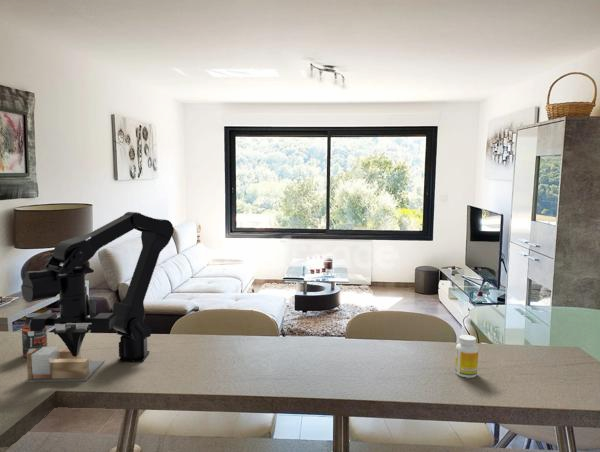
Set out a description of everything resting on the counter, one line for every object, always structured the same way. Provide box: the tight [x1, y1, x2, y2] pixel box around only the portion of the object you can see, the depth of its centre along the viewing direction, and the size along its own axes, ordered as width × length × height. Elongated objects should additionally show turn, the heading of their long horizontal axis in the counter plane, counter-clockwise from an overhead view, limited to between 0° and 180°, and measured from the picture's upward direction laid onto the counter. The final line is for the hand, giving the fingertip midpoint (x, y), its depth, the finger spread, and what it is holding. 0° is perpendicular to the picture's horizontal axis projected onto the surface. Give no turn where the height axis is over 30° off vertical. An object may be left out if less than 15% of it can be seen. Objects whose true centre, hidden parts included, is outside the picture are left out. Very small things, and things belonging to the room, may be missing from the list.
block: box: [26, 348, 90, 380], centre depth 116 cm, size 14×10×6 cm
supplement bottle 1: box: [21, 312, 48, 358], centre depth 127 cm, size 6×6×11 cm
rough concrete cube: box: [32, 346, 61, 375], centre depth 112 cm, size 4×5×5 cm
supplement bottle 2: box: [454, 334, 479, 379], centre depth 116 cm, size 5×5×10 cm
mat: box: [26, 360, 105, 383], centre depth 116 cm, size 14×12×1 cm
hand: (75, 355), depth 112 cm, fingers closed
